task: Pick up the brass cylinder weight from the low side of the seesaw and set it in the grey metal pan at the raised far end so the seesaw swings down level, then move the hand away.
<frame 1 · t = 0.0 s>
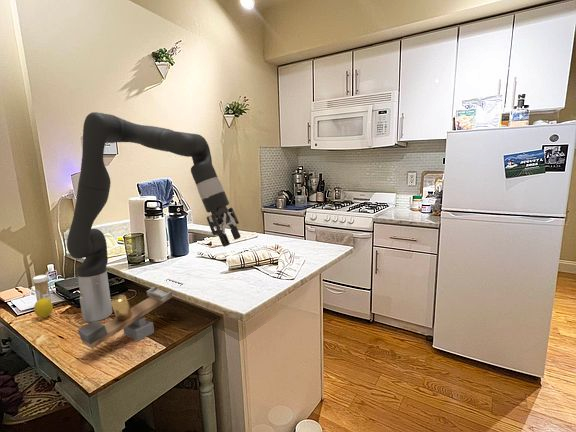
hand: (232, 242, 99), 31 cm above the table, tool tilted 20°, fingers open, 8 cm apart
brass weight: (124, 316, 100), point 8 cm above the table, tilted 13°, touching seesaw
beam stand: (139, 333, 105), on the table
lemon: (45, 318, 117), on the table
sprinkles bottle: (45, 308, 125), on the table
seesaw: (135, 308, 103), point 9 cm above the table, hinge at -10.1°, touching brass weight
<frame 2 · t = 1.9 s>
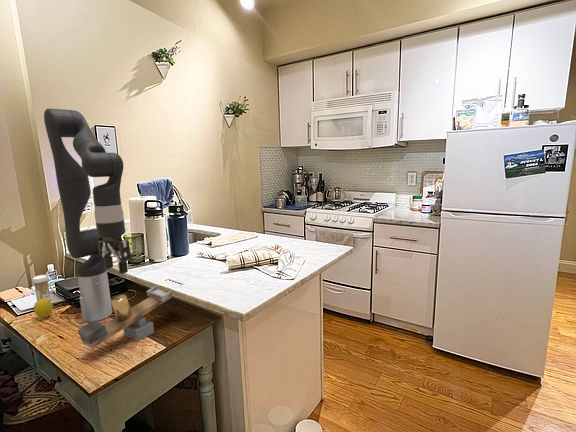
hand: (116, 270, 97), 24 cm above the table, tool pointing down, fingers open, 8 cm apart
nothing on the table moved.
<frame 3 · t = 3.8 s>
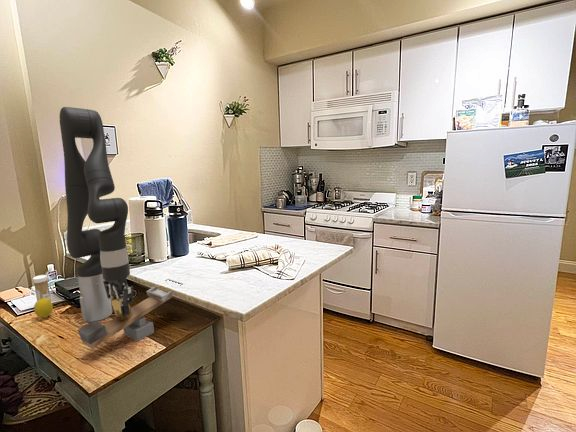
hand: (121, 313, 99), 10 cm above the table, tool pointing down, fingers closed on brass weight, 4 cm apart
brass weight: (125, 317, 100), point 8 cm above the table, tilted 10°, touching seesaw, gripper
everything else where it was.
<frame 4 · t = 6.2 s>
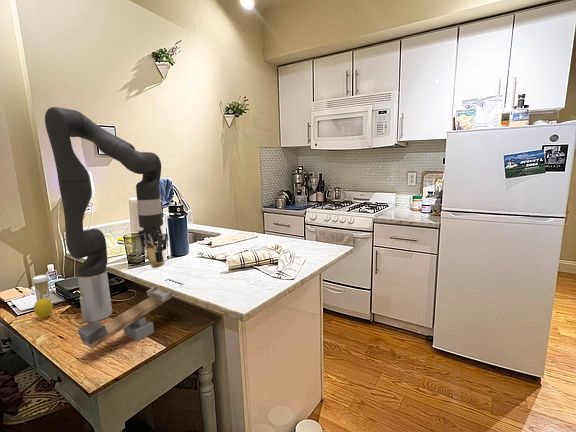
hand: (155, 260, 108), 23 cm above the table, tool pointing down, fingers closed on brass weight, 4 cm apart
brass weight: (158, 264, 109), point 22 cm above the table, tilted 10°, touching gripper
seesaw: (135, 308, 103), point 9 cm above the table, hinge at -10.1°
everything else where it was.
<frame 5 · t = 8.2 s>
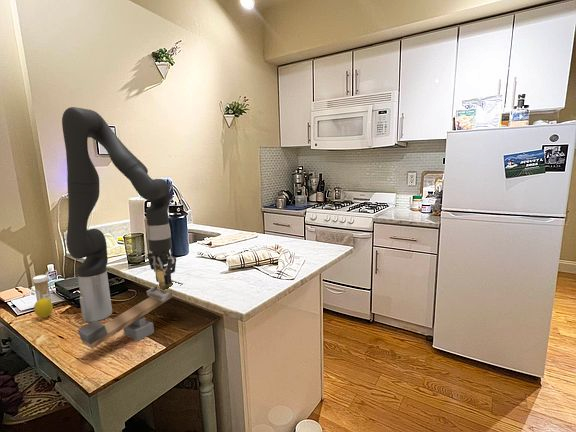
hand: (163, 282, 112), 14 cm above the table, tool pointing down, fingers closed on brass weight, 4 cm apart
brass weight: (166, 286, 113), point 13 cm above the table, tilted 10°, touching gripper
everything else where it was.
when the fingers open (14 cm above the table, at t = 8.9 s): brass weight drops 3 cm, resting on seesaw.
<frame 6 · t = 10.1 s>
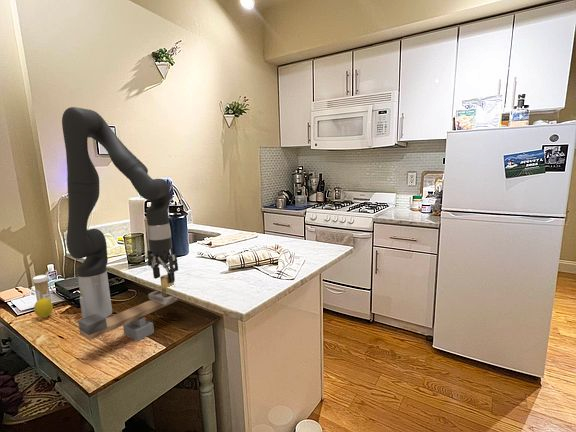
hand: (164, 280, 111), 15 cm above the table, tool pointing down, fingers open, 8 cm apart
brass weight: (168, 294, 114), point 9 cm above the table, touching seesaw
seesaw: (137, 307, 104), point 9 cm above the table, hinge at 0.2°, touching brass weight
everything else where it was.
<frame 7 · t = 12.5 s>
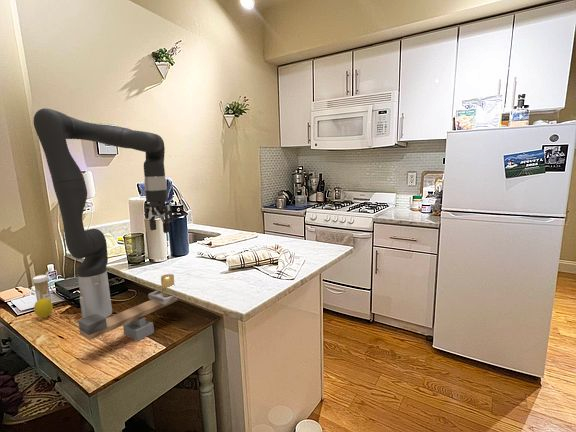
hand: (159, 231, 118), 31 cm above the table, tool pointing down, fingers open, 8 cm apart
nothing on the table moved.
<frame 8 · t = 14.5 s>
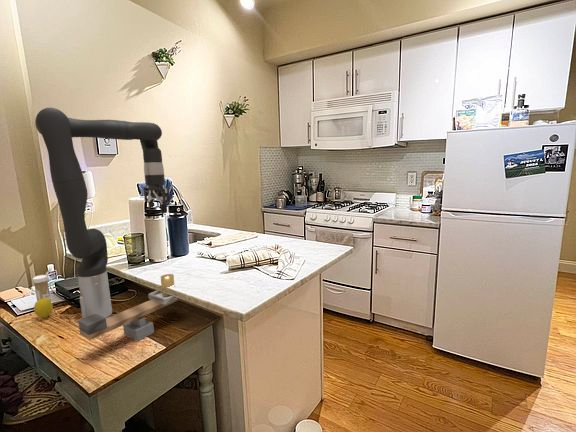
hand: (158, 212, 131), 36 cm above the table, tool pointing down, fingers open, 8 cm apart
nothing on the table moved.
at the end: seesaw at +0° (first picture: -10°); brass weight inside the target area on the seesaw (0.7 cm from its centre), point 2.2 cm above the seesaw's base; brass weight tilted 3° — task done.
